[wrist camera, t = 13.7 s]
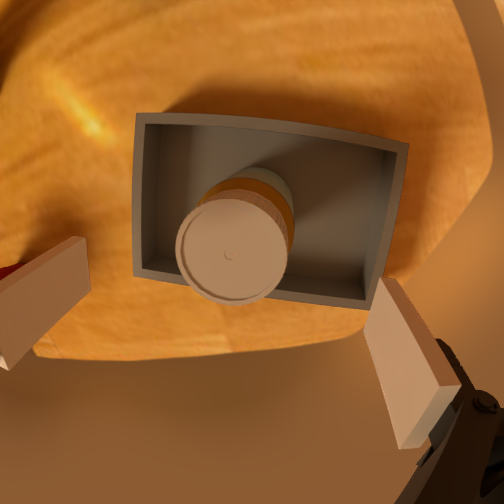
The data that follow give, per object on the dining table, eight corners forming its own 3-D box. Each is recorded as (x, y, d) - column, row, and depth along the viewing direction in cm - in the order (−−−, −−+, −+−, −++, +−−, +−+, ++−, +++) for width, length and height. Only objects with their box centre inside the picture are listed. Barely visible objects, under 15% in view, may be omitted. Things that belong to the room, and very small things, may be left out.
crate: (157, 115, 30) (136, 112, 25) (391, 142, 28) (409, 143, 24) (152, 258, 35) (133, 276, 31) (362, 288, 34) (372, 310, 29)
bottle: (306, 213, 31) (320, 276, 17) (246, 248, 33) (214, 330, 19) (267, 152, 29) (248, 162, 15) (208, 191, 31) (144, 234, 17)
